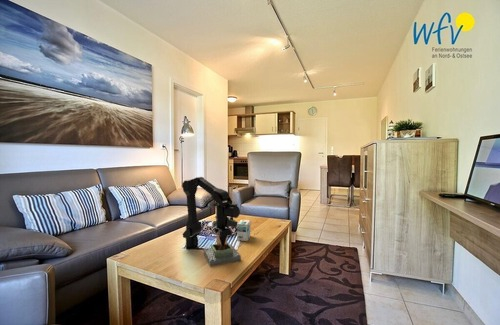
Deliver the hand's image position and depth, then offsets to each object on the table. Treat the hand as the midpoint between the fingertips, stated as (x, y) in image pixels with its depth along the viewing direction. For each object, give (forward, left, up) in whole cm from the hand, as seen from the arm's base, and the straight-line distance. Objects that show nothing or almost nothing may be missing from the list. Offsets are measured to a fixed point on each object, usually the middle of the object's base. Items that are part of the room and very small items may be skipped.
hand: (221, 243), depth 126 cm
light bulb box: (+21, +22, -7) cm, 31 cm away
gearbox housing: (0, 0, -7) cm, 7 cm away
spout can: (0, 0, -3) cm, 3 cm away
